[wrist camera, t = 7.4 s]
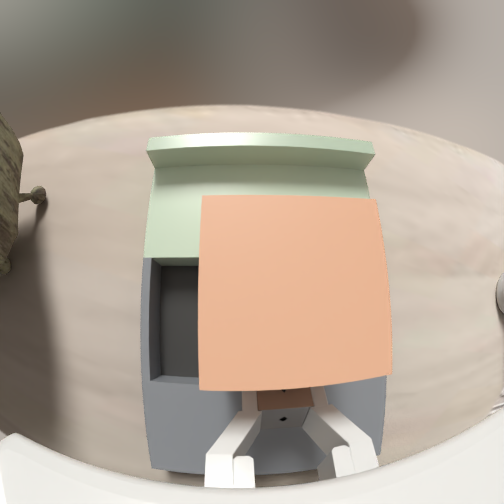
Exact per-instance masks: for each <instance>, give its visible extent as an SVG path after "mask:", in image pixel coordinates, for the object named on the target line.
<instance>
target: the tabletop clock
mask: <svg viewBox="0 0 504 504" xmlns="http://www.w3.org/2000/svg"><path fill="white" fill-rule="evenodd" d="M22 162H23V152H22V149H21V145H20V143H19V141H18V139H17V137H16V135H15V133H14V132H13V130H12V128H11V127H10V126H9V125H8V123H7V122H6V120H5V119H4V118H3V116H2V115H1V113H0V274H2V275H5V274H7V273H8V272H9V271H10V268H11V263H10V261H9V259H8V258H7V255H8V253H9V251H10V249H11V247H12V245H13V243H14V241H15V239H16V237H17V235H18V206H19V203H21V202H24V201H27V200H30V199H31V201H32V202H33V203H34V204H41V203H42V202H43V201H44V200H45V198H46V191H45V189H44V188H43V187H42V186H37V187H34V188H33V190H32V191H31V193H22V194H19V190H20V179H21V170H22Z"/></svg>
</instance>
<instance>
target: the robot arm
mask: <svg viewBox="0 0 504 504" xmlns="http://www.w3.org/2000/svg"><path fill="white" fill-rule="evenodd" d="M290 427H302V428H303V429H304V430H305V432H306V433H307V434H308V435H309V436H310V437H311V438H312V440H313V441H314V442H315V443H316V444H317V445H318V446H319V447H320V449H321V450H322V451H323V452H324V453H325V454H326V455H327V456H326V457H325V459H324V460H323V461H322V462H321V463H320V464H319V465H318V466H317V470H318V477H319V481H316V482H310V483H303V484H295V485H285V486H274V487H256V488H255V476H254V461H253V458H251V457H250V456H245V454H246V453H247V451H248V450H249V448H250V447H251V445H252V443H253V442H254V440H255V438H256V437H257V435H258V433H259V432H260V430H264V429H276V428H290ZM0 504H504V406H503V407H502V408H501V409H499V410H498V411H496V412H495V413H493V414H492V415H490V416H489V417H487V418H485V419H484V420H482V421H481V422H479V423H477V424H476V425H474V426H472V427H470V428H469V429H467V430H465V431H463V432H461V433H459V434H458V435H456V436H454V437H452V438H450V439H448V440H446V441H444V442H442V443H440V444H437V445H435V446H433V447H431V448H429V449H426V450H424V451H421V452H419V453H417V454H414V455H412V456H409V457H406V458H404V459H401V460H398V461H395V462H392V463H389V464H386V465H383V466H380V467H379V464H378V461H377V457H376V453H375V450H374V446H373V443H372V439H371V438H370V437H369V436H368V435H367V434H365V433H364V432H363V431H362V430H361V429H360V428H358V427H357V426H356V425H355V424H354V423H353V422H351V421H350V420H349V419H348V418H347V417H346V416H345V415H343V414H342V413H341V412H340V411H339V410H338V409H337V408H336V407H334V406H333V405H332V404H330V405H328V401H327V397H326V393H325V389H324V386H316V387H306V388H295V389H281V390H261V391H242V411H238V413H237V414H236V415H235V417H234V418H233V419H232V421H231V422H230V423H229V425H228V426H227V428H226V429H225V430H224V432H223V433H222V434H221V435H220V437H219V438H218V439H217V441H216V442H215V443H214V445H213V446H212V447H211V448H210V450H209V451H208V452H207V453H206V463H205V486H204V487H202V486H190V485H181V484H173V483H166V482H160V481H154V480H149V479H144V478H139V477H134V476H130V475H126V474H121V473H118V472H114V471H110V470H107V469H103V468H100V467H97V466H94V465H91V464H88V463H85V462H82V461H79V460H76V459H74V458H71V457H68V456H66V455H63V454H61V453H58V452H56V451H54V450H51V449H49V448H47V447H45V446H43V445H40V444H38V443H36V442H34V441H32V440H30V439H28V438H26V437H24V436H23V435H21V434H18V433H13V434H11V435H9V436H7V437H5V438H4V439H2V440H1V441H0Z"/></svg>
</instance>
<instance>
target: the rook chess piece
mask: <svg viewBox="0 0 504 504" xmlns="http://www.w3.org/2000/svg"><path fill="white" fill-rule="evenodd" d="M496 299H497V304H498V306H499V309H500V310H501V311H502V312H503V313H504V273H503V274H502V275H501V277H500V278H499V280H498V283H497V288H496Z"/></svg>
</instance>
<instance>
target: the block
mask: <svg viewBox="0 0 504 504" xmlns="http://www.w3.org/2000/svg"><path fill="white" fill-rule="evenodd" d="M198 360H199V390H207V391H261V390H281V389H295V388H306V387H316V386H325V385H332V384H340V383H346V382H353V381H359V380H365V379H370V378H375V377H380V376H385V375H390V374H392V324H391V306H390V293H389V283H388V273H387V264H386V257H385V249H384V243H383V236H382V230H381V224H380V219H379V213H378V208H377V203H376V199H363V198H347V197H327V196H300V195H202V204H201V222H200V244H199V276H198Z"/></svg>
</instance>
